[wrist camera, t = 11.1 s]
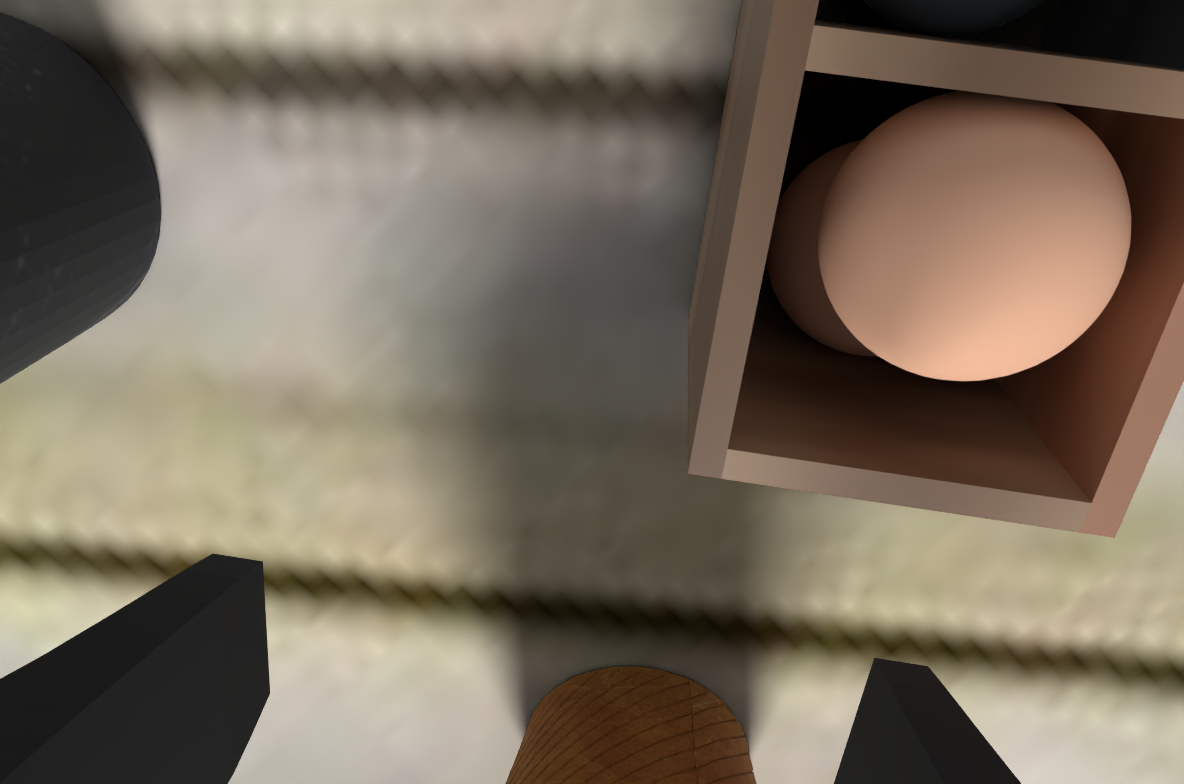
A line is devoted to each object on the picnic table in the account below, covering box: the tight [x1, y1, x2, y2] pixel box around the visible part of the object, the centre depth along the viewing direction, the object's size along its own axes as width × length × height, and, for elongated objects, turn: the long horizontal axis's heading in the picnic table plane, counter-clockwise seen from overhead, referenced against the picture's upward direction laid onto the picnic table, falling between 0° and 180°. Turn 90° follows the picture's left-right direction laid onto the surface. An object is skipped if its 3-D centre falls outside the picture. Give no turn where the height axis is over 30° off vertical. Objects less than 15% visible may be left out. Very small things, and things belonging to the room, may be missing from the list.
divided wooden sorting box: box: [688, 0, 1184, 538], centre depth 13 cm, size 6×12×7 cm, turn 174°
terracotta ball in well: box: [767, 139, 877, 357], centre depth 16 cm, size 4×4×4 cm
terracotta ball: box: [818, 90, 1131, 381], centre depth 12 cm, size 4×4×4 cm
